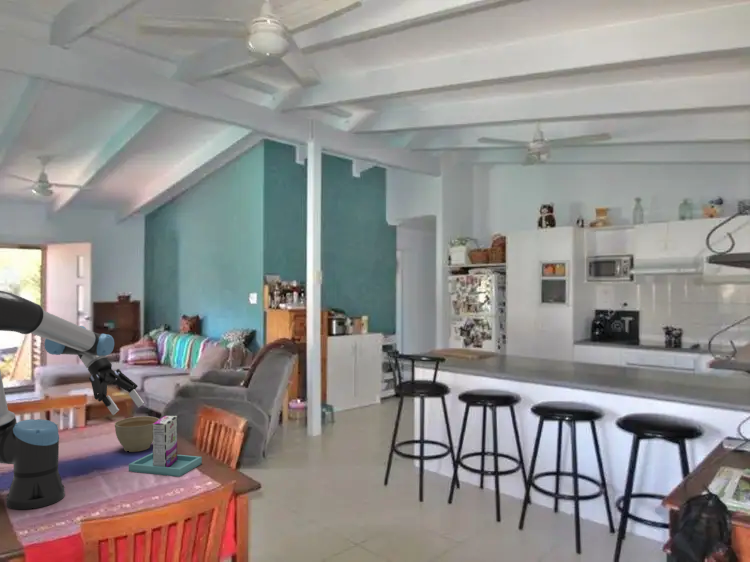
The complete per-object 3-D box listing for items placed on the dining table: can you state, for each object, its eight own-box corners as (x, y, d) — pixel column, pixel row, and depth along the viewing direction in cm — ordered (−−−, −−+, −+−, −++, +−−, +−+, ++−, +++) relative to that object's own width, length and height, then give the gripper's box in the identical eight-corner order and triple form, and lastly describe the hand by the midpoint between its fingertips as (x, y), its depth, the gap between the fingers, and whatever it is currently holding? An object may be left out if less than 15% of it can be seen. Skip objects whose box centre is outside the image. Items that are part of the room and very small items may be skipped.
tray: (179, 476, 192) (179, 469, 192) (128, 471, 197) (128, 464, 197) (201, 463, 205) (201, 456, 205) (153, 458, 210) (153, 452, 210)
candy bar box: (163, 460, 206) (164, 415, 206) (177, 460, 206) (177, 415, 206) (151, 470, 195) (151, 423, 195) (166, 470, 195) (166, 423, 195)
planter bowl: (145, 440, 234) (145, 414, 234) (166, 448, 224) (166, 420, 224) (106, 449, 221) (106, 421, 221) (127, 458, 211) (127, 429, 211)
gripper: (113, 365, 221) (144, 408, 217) (64, 374, 196) (97, 422, 193) (126, 353, 219) (157, 396, 216) (77, 360, 195) (111, 409, 191)
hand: (129, 408), depth 204 cm, fingers open, 13 cm apart
